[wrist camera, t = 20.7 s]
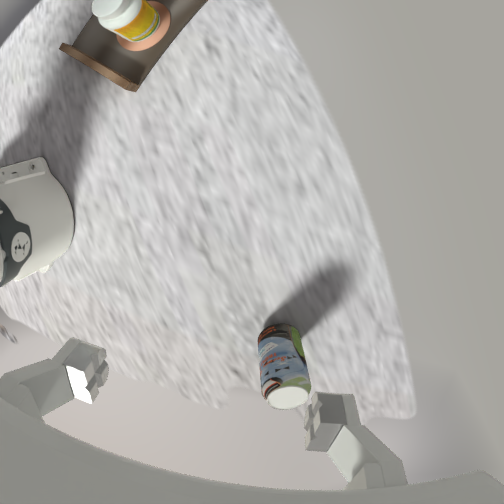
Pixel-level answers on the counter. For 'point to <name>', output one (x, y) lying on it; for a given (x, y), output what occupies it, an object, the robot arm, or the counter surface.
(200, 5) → the walled bay
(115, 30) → the supplement bottle
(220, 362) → the counter surface
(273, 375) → the beverage can
